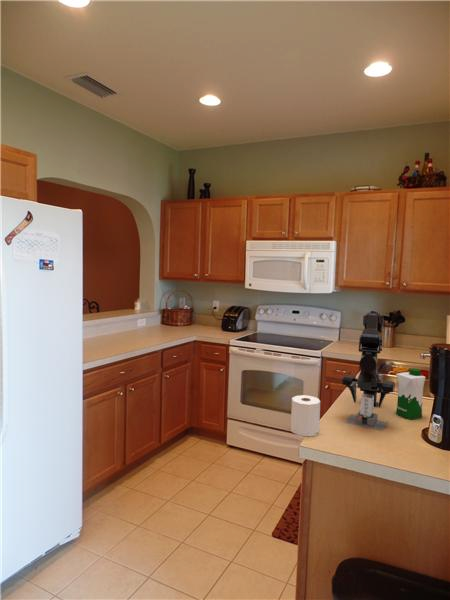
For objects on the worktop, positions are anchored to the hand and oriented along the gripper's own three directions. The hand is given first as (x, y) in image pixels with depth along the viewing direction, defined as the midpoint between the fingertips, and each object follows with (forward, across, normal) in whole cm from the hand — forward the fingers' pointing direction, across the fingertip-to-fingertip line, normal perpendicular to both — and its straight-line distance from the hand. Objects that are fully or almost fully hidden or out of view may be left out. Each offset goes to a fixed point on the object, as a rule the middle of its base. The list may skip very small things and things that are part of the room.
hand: (367, 404), depth 155 cm
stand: (+8, 0, 0) cm, 8 cm away
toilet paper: (+8, -18, -19) cm, 27 cm away
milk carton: (+8, +13, +17) cm, 23 cm away
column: (+4, 0, 0) cm, 4 cm away
